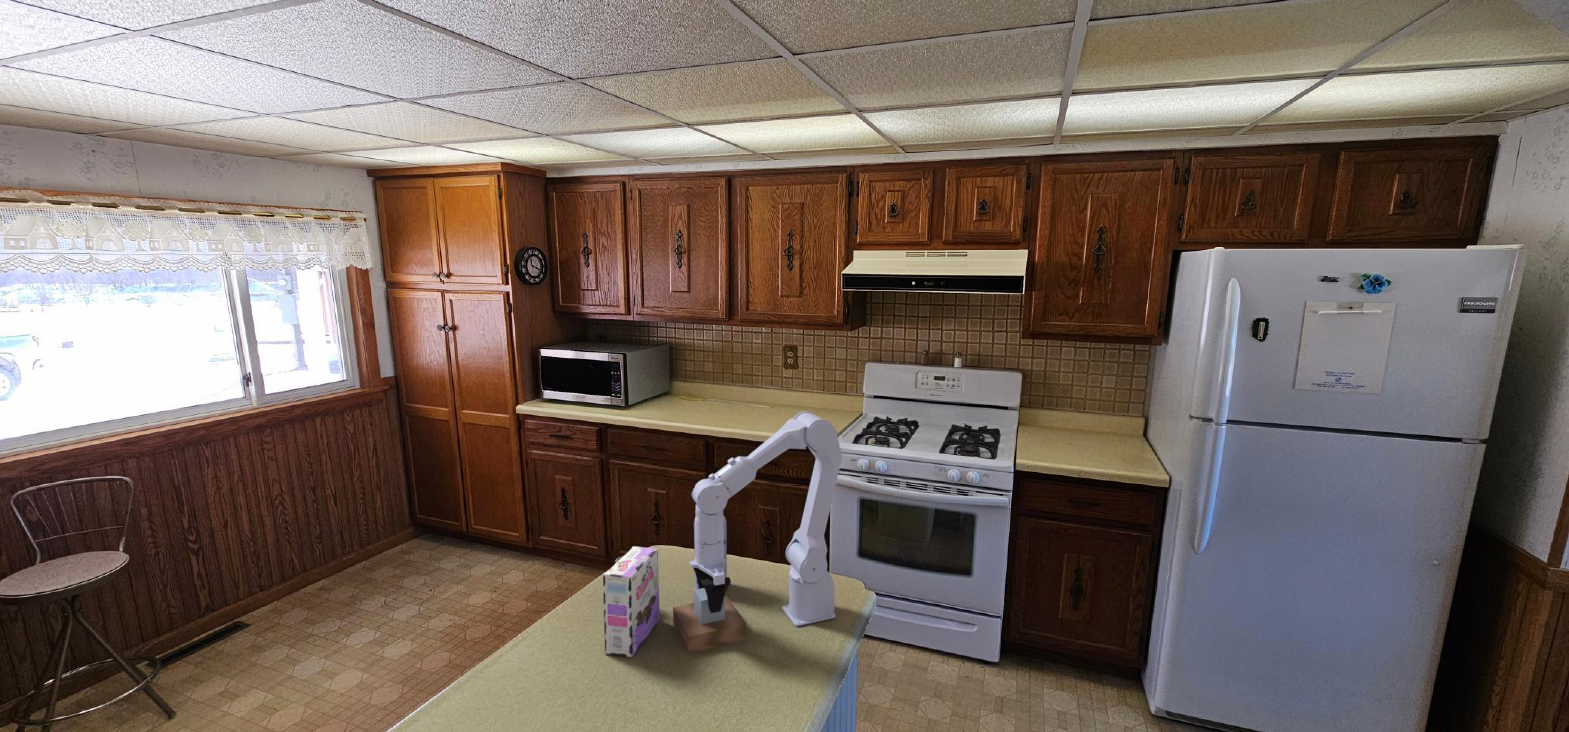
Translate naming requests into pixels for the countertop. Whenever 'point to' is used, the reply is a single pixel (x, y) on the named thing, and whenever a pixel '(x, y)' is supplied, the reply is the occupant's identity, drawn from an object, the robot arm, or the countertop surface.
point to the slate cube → (706, 608)
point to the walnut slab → (708, 628)
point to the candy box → (631, 601)
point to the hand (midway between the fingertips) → (710, 602)
